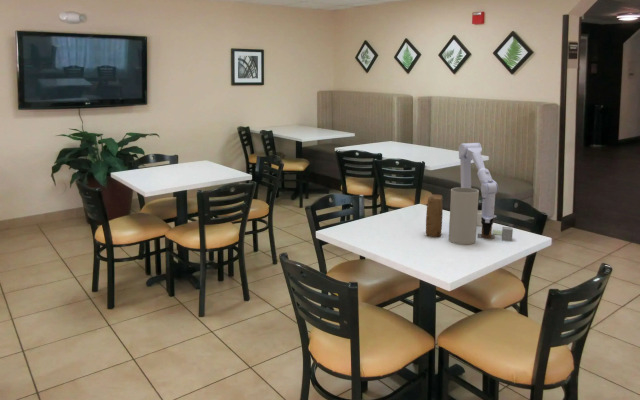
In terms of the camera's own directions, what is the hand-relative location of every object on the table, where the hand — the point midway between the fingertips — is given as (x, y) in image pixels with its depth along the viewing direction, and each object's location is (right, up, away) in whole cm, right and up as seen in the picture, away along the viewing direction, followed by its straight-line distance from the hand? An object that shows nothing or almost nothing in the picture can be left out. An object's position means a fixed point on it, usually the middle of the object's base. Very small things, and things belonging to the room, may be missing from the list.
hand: (486, 233), depth 262 cm
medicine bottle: (+2, +3, +22) cm, 23 cm away
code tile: (0, -2, 0) cm, 2 cm away
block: (-25, -1, +5) cm, 25 cm away
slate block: (+8, -3, -5) cm, 10 cm away
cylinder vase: (-14, -4, -7) cm, 16 cm away
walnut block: (0, -1, 0) cm, 1 cm away
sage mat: (+9, 0, +6) cm, 11 cm away
